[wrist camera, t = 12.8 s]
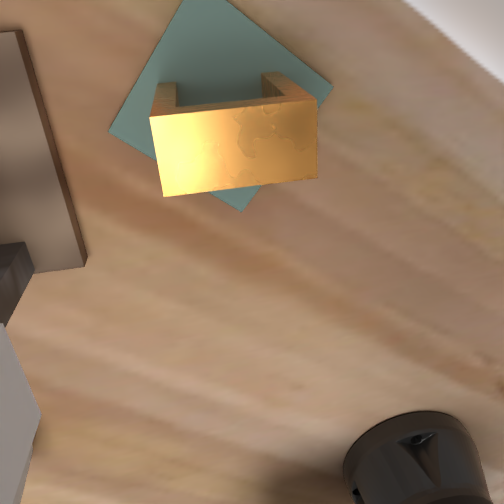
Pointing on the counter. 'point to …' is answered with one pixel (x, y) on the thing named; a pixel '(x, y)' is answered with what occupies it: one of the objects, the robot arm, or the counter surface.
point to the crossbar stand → (30, 183)
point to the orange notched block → (235, 138)
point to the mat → (210, 73)
